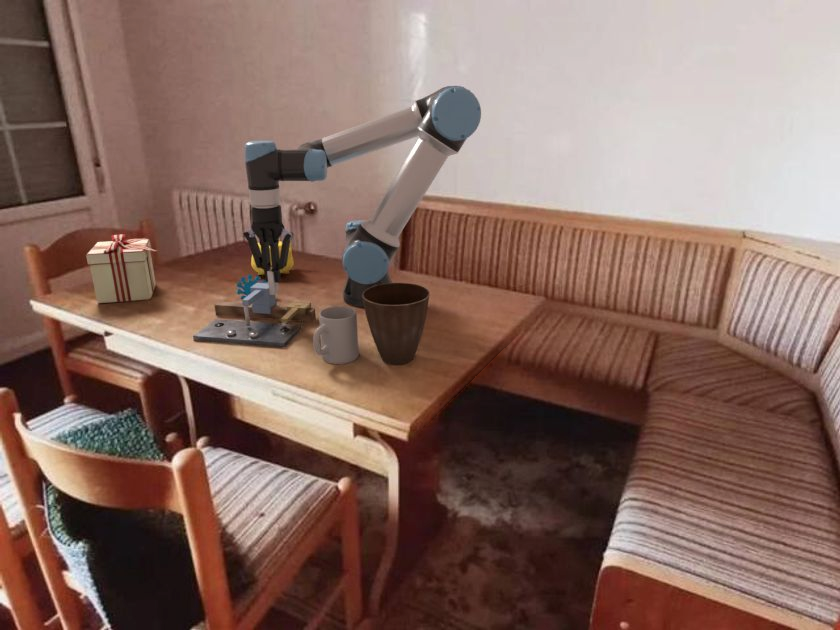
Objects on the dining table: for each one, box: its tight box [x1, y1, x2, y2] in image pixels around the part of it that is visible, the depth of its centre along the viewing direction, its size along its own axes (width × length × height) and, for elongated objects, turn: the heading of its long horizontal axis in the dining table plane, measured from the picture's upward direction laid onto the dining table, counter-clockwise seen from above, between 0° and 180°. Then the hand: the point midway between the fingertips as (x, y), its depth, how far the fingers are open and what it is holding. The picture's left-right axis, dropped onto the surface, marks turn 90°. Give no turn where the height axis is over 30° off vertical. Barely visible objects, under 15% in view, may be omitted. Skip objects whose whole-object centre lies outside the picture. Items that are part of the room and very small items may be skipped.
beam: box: [214, 301, 317, 323], centre depth 158 cm, size 28×2×3 cm, turn 79°
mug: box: [312, 305, 360, 365], centre depth 133 cm, size 12×8×11 cm
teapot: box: [250, 239, 295, 276], centre depth 192 cm, size 14×14×12 cm
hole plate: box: [192, 318, 303, 349], centre depth 147 cm, size 24×11×2 cm, turn 79°
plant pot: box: [362, 282, 430, 366], centre depth 132 cm, size 15×15×16 cm
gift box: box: [85, 233, 159, 304], centre depth 174 cm, size 17×18×17 cm
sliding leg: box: [241, 282, 278, 326], centre depth 153 cm, size 5×13×7 cm, turn 169°
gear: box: [236, 274, 268, 301], centre depth 169 cm, size 11×6×10 cm
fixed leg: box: [280, 300, 312, 329], centre depth 152 cm, size 5×13×3 cm, turn 169°
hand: (274, 293), depth 155 cm, fingers closed
